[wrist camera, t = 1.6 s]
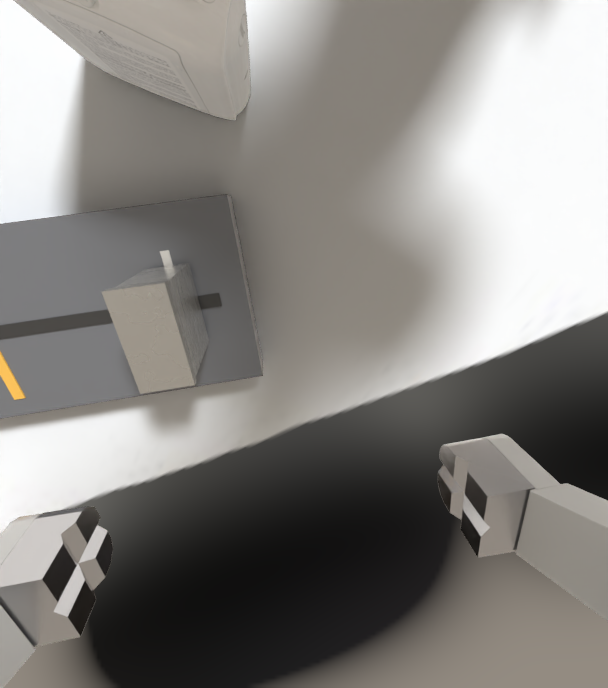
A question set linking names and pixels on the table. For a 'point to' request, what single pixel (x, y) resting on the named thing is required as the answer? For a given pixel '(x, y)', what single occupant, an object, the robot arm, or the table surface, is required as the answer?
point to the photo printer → (161, 46)
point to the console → (91, 310)
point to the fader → (159, 326)
